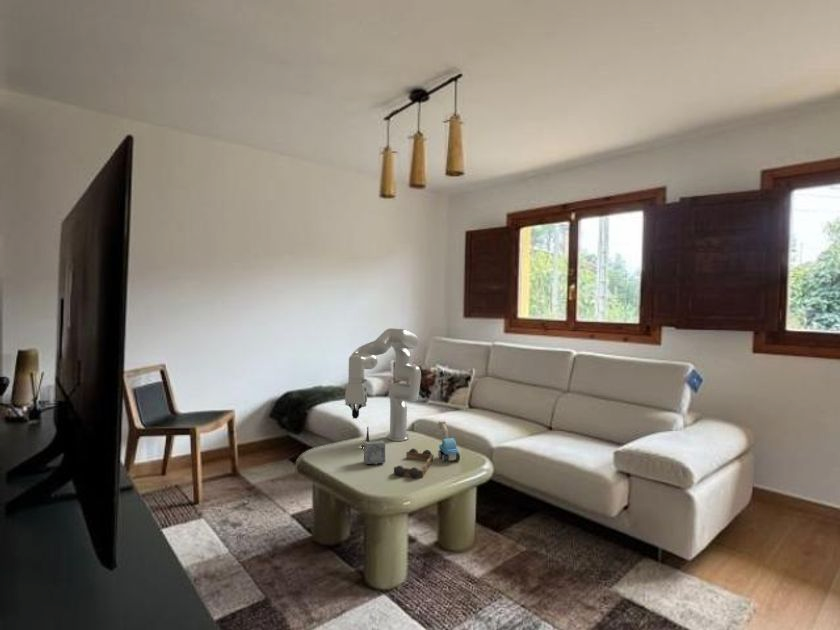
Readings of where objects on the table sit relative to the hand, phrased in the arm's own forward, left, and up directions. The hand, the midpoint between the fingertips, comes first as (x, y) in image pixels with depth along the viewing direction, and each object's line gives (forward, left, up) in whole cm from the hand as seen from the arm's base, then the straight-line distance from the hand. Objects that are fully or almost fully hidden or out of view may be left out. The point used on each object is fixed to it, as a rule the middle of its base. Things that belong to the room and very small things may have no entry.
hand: (355, 417), depth 224 cm
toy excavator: (-18, +43, -22) cm, 51 cm away
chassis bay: (0, +30, -21) cm, 37 cm away
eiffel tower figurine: (-18, 0, -22) cm, 29 cm away
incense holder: (0, +10, -22) cm, 24 cm away
